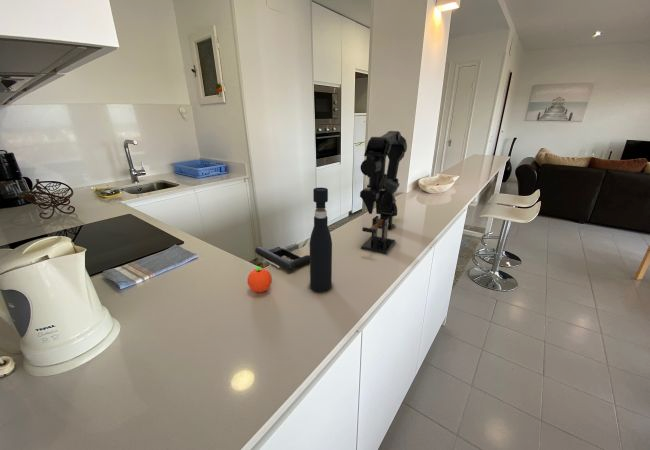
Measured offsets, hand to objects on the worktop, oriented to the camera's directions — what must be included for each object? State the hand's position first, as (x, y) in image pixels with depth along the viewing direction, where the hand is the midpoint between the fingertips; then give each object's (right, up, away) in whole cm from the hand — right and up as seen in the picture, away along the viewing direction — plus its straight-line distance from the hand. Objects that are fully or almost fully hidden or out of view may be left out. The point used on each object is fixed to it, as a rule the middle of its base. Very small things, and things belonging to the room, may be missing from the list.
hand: (374, 210), depth 111 cm
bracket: (+2, -14, 0) cm, 14 cm away
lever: (-1, -7, -8) cm, 11 cm away
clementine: (-39, -25, -29) cm, 54 cm away
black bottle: (-21, -25, -27) cm, 42 cm away
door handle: (-34, -18, -10) cm, 39 cm away
